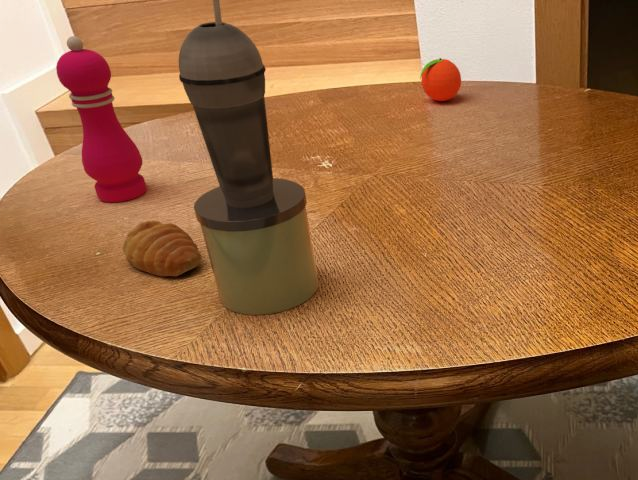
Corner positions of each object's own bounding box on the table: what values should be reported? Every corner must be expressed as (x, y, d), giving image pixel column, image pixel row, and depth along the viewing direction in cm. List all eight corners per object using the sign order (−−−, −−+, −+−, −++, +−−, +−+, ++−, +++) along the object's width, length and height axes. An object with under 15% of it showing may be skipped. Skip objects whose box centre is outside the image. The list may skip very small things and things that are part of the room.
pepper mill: (83, 203, 96) (26, 43, 85) (113, 182, 102) (64, 30, 91) (132, 205, 95) (81, 43, 84) (160, 184, 101) (116, 29, 90)
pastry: (219, 263, 80) (210, 232, 78) (164, 288, 76) (153, 256, 74) (174, 241, 86) (164, 210, 84) (120, 263, 82) (109, 232, 80)
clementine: (434, 110, 124) (431, 66, 120) (410, 102, 128) (406, 60, 124) (470, 100, 128) (468, 57, 124) (445, 92, 132) (443, 51, 128)
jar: (201, 288, 76) (176, 198, 70) (289, 256, 81) (272, 169, 76) (246, 328, 69) (223, 232, 64) (339, 289, 75) (325, 197, 69)
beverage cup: (239, 180, 73) (189, -43, 62) (302, 187, 71) (262, -43, 60) (194, 209, 68) (131, -30, 57) (262, 217, 66) (210, -30, 54)
